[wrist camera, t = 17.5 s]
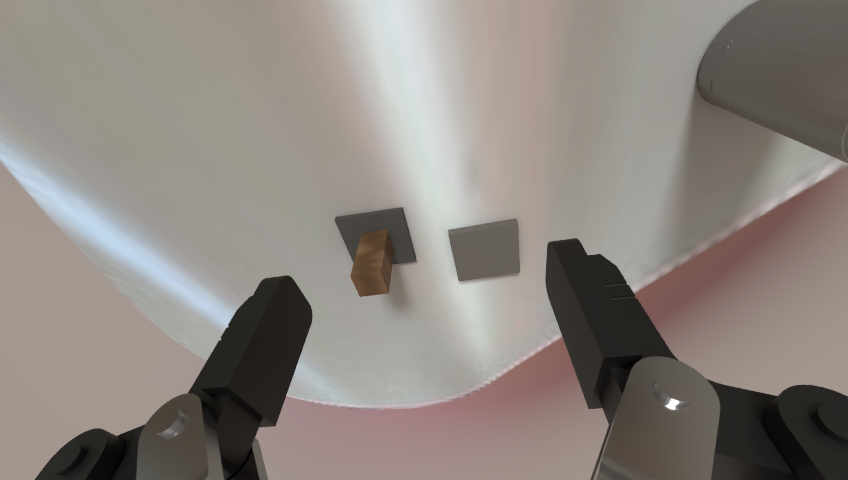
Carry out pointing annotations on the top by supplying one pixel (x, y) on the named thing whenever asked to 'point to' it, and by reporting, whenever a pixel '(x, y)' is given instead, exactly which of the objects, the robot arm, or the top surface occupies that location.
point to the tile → (486, 249)
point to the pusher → (373, 263)
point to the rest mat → (378, 221)
